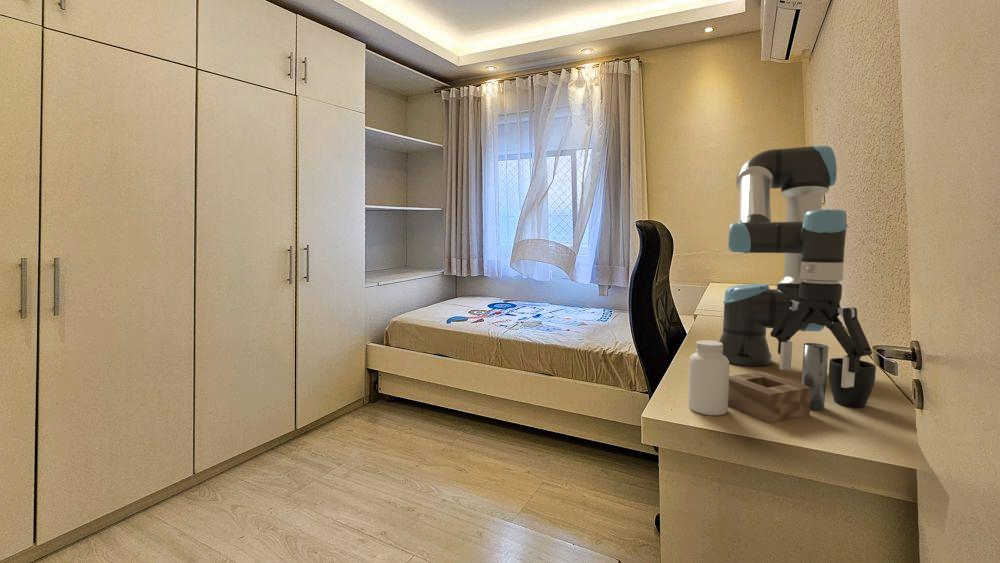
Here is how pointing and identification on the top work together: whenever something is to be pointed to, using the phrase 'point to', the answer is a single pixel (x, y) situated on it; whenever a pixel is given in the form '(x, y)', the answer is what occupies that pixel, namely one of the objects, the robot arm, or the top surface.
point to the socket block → (768, 396)
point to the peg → (815, 373)
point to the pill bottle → (708, 379)
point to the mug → (862, 384)
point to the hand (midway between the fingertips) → (814, 377)
